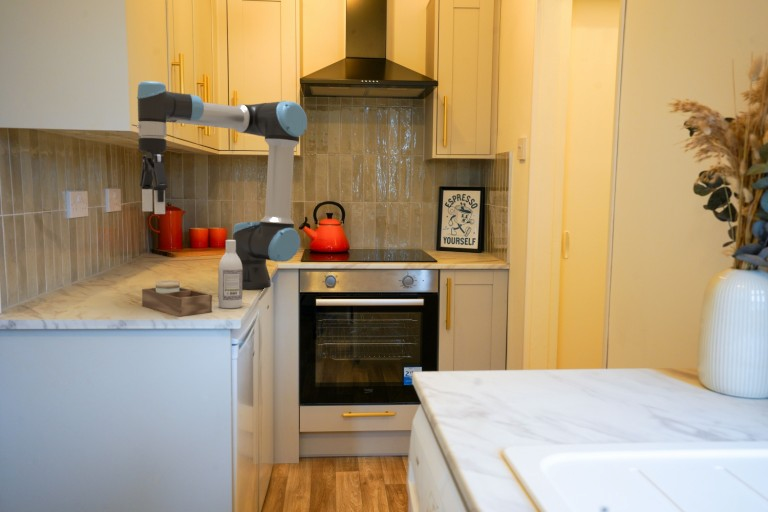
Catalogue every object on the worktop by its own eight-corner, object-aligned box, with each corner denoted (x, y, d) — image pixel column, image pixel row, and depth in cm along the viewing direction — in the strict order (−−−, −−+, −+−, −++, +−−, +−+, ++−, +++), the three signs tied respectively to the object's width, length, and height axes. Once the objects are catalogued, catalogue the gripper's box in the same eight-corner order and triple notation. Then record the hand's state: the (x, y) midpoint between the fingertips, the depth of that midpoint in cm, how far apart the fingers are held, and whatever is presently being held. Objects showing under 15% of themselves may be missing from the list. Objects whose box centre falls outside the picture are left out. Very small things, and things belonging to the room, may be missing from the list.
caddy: (174, 302, 202) (174, 285, 201) (211, 312, 189) (211, 294, 188) (142, 305, 194) (142, 289, 194) (179, 316, 181) (179, 298, 180)
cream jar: (171, 300, 199) (171, 280, 199) (184, 303, 195) (184, 282, 194) (151, 302, 194) (150, 281, 194) (163, 306, 190) (163, 284, 189)
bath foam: (246, 307, 198) (247, 240, 196) (226, 309, 193) (227, 241, 191) (233, 303, 203) (234, 238, 200) (213, 306, 197) (214, 239, 195)
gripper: (128, 138, 196) (129, 210, 198) (150, 135, 175) (151, 215, 177) (154, 140, 200) (155, 210, 202) (178, 136, 179) (179, 215, 181)
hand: (153, 212), depth 190 cm, fingers open, 13 cm apart
